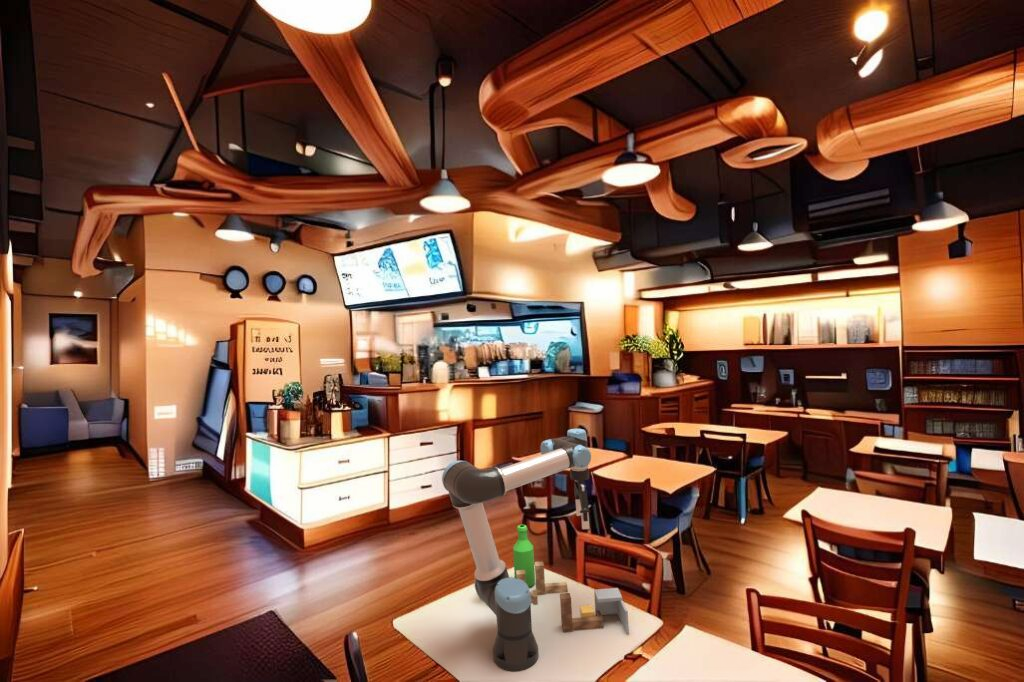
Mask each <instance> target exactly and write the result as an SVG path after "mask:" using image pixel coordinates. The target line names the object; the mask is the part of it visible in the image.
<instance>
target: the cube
mask: <svg viewBox="0 0 1024 682" xmlns="http://www.w3.org/2000/svg"><path fill="white" fill-rule="evenodd" d="M579 609H580V610H579V613H580V614H579V615H580V618H582V617H594V616H596V614H595V609H594V607H593V604H590V605H589V604H588V605H580V606H579Z"/></svg>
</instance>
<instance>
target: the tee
mask: <svg viewBox="0 0 1024 682" xmlns="http://www.w3.org/2000/svg"><path fill="white" fill-rule="evenodd" d="M516 575H517V579H521V580H523V581H524V582H525V583H526V576H525V570H516ZM530 596H531V604H533V605H535V606H536V605H538V604H539V600H538V595H537V591H536V589H534V590H532V591H530Z"/></svg>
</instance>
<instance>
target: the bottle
mask: <svg viewBox="0 0 1024 682" xmlns="http://www.w3.org/2000/svg"><path fill="white" fill-rule="evenodd" d="M516 526H517V527H516V531H517V538H518V539H517V540H516V542H515V544H514V545H513V546H512V553H513V569H514V578H516V579H517V575H516V570H525V576H526V584H527V585H528V587H529V588H531V587H532V586H534V585H535V584H536V577H535V554H534V553H535V552H534V551H535V550H534V545H533V544H532V542H531V541H530V540H529V539H528V527H527V525H526V524H519V525H516Z"/></svg>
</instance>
